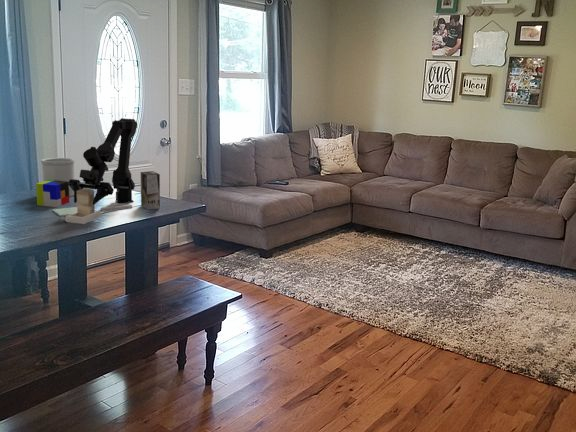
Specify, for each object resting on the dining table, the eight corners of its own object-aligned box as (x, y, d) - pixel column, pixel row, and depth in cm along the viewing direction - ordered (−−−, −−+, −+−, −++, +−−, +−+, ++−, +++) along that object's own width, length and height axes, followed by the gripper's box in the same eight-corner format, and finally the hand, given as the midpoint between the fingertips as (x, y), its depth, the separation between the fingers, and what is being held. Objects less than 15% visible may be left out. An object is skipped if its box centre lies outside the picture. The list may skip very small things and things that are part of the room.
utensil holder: (39, 193, 292) (37, 158, 288) (70, 190, 301) (68, 156, 297) (48, 199, 281) (46, 162, 277) (80, 196, 290) (78, 160, 286)
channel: (83, 214, 257) (82, 209, 256) (100, 216, 255) (100, 210, 254) (65, 221, 244) (65, 216, 243) (84, 223, 242) (83, 218, 242)
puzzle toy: (57, 207, 268) (56, 185, 265) (37, 205, 270) (35, 183, 267) (69, 202, 277) (68, 181, 275) (50, 200, 279) (48, 179, 277)
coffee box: (160, 208, 273) (160, 174, 269) (146, 209, 270) (146, 174, 266) (154, 204, 281) (153, 170, 277) (140, 205, 277) (140, 171, 273)
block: (84, 216, 254) (83, 188, 251) (94, 217, 253) (93, 189, 250) (77, 218, 250) (76, 191, 247) (88, 220, 249) (87, 192, 246)
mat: (77, 208, 267) (77, 206, 267) (86, 213, 259) (86, 212, 259) (52, 210, 261) (52, 209, 260) (60, 216, 252) (60, 215, 252)
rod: (130, 208, 273) (130, 204, 273) (132, 208, 272) (132, 205, 272) (100, 211, 265) (100, 207, 265) (102, 212, 264) (102, 208, 263)
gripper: (69, 160, 251) (55, 190, 244) (109, 163, 248) (96, 194, 240) (80, 175, 261) (67, 205, 253) (119, 179, 257) (107, 209, 249)
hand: (83, 203), depth 249 cm, fingers open, 8 cm apart
